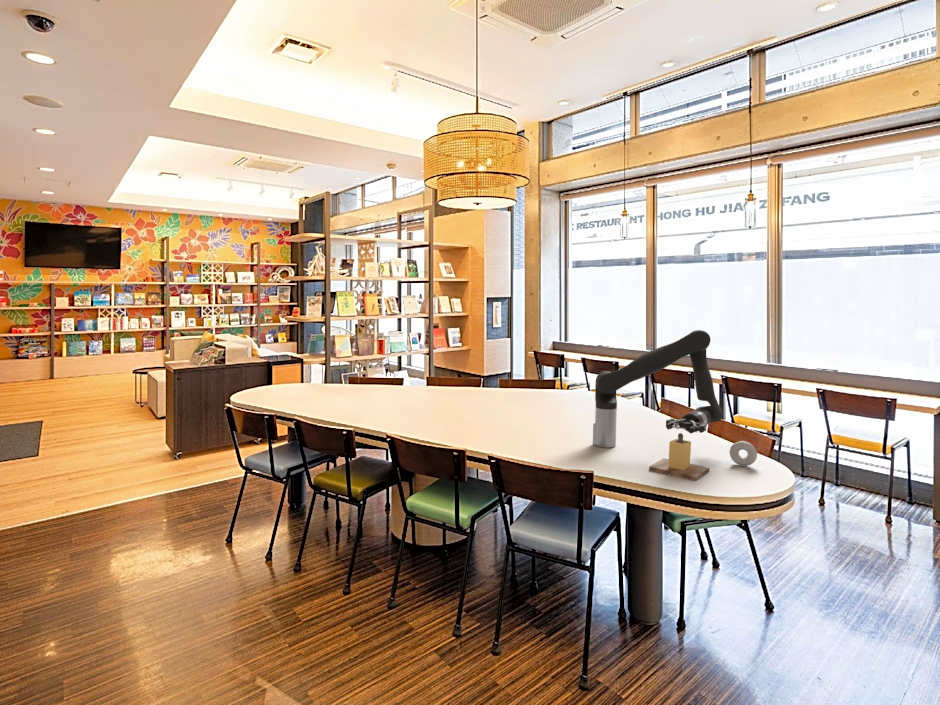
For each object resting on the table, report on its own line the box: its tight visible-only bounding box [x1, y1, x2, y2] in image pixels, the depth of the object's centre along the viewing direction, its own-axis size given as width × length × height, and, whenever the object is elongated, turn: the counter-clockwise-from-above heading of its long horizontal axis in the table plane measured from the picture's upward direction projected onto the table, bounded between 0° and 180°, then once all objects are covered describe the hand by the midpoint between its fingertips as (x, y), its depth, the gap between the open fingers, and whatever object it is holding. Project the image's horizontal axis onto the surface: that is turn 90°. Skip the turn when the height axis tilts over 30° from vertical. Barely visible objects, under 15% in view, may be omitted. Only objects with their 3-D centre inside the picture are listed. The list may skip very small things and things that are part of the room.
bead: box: [668, 438, 692, 470], centre depth 216 cm, size 6×6×10 cm
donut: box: [729, 440, 758, 467], centre depth 222 cm, size 10×4×10 cm, turn 53°
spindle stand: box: [648, 432, 710, 481], centre depth 215 cm, size 18×14×15 cm
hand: (679, 428), depth 213 cm, fingers open, 8 cm apart
